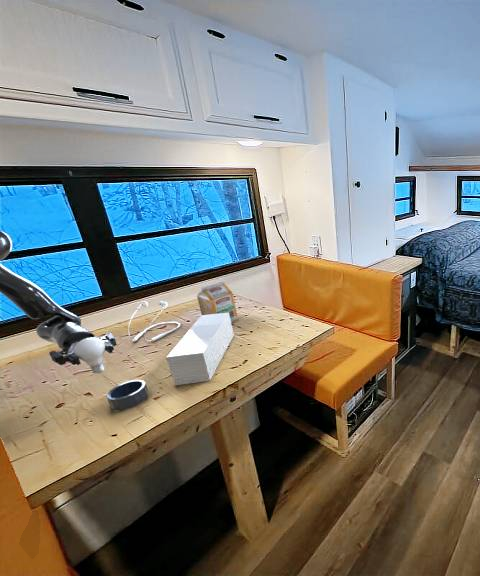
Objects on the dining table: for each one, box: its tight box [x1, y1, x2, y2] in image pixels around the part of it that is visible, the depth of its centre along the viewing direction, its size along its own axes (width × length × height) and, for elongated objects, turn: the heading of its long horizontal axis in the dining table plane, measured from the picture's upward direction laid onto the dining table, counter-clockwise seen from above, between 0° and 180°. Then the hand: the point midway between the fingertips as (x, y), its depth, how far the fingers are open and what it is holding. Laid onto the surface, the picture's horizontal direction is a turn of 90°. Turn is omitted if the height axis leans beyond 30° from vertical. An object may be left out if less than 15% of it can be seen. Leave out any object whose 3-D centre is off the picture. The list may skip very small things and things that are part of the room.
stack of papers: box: [165, 313, 235, 386], centre depth 113 cm, size 32×11×11 cm, turn 12°
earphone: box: [127, 300, 181, 343], centre depth 134 cm, size 14×17×18 cm
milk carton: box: [196, 280, 239, 324], centre depth 140 cm, size 11×11×19 cm
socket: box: [106, 379, 150, 412], centre depth 93 cm, size 9×9×4 cm
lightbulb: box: [74, 338, 106, 374], centre depth 86 cm, size 6×6×11 cm
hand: (94, 355), depth 85 cm, fingers closed on lightbulb, 6 cm apart
